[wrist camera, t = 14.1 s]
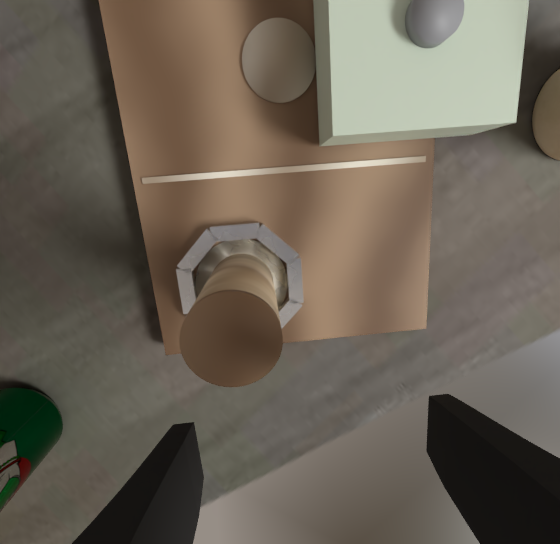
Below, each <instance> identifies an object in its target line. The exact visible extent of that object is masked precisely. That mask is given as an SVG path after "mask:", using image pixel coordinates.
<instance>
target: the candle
mask: <svg viewBox="0 0 560 544" xmlns="http://www.w3.org/2000/svg"><path fill="white" fill-rule="evenodd" d="M532 126H533V133H534V137H535V139H536V142H537V144H538V145H539V147H540V148H541V150H542V151H543V152H544V153H545V154H547V155H548V156H550V157H551V158H554V159H556V160H560V69H558V70H557V71H556V72H555V73H554V74H553V75H552V76H551V77H550V78H549V79H548V80H547V82H546V83H545V84H544V86H543V87H542V89H541V91H540V93H539V95H538V97H537V100H536V102H535V106H534V110H533V116H532Z"/></svg>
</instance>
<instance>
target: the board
mask: <svg viewBox="0 0 560 544" xmlns="http://www.w3.org/2000/svg"><path fill="white" fill-rule="evenodd" d="M99 5H100V11H101V16H102V21H103V26H104V32H105V37H106V42H107V47H108V53H109V58H110V63H111V68H112V74H113V79H114V84H115V90H116V95H117V100H118V105H119V111H120V116H121V121H122V126H123V132H124V137H125V142H126V147H127V153H128V158H129V163H130V168H131V174H132V179H133V184H134V190H135V195H136V200H137V205H138V211H139V216H140V221H141V226H142V232H143V237H144V242H145V247H146V253H147V258H148V263H149V268H150V274H151V279H152V284H153V290H154V295H155V300H156V305H157V311H158V316H159V321H160V326H161V332H162V337H163V342H164V347H165V353H166V355H170V354H180V353H181V350H180V344H179V335H180V330H181V326H182V324H183V321H184V319H185V318H186V315H187V314H183V309H182V303H181V297H180V291H179V285H178V279H177V273H176V269H177V268H178V267H177V265H178V264H179V263H180V261H181V260H182V259H183V258H184V256H185V255H186V254H187V253H188V251H189V250H190V249H191V248H192V246H193V245H194V244H195V243H196V241H197V240H198V239H199V238H200V236H201V235H202V234H203V233H204V231H205V230H206V229H207V228H209V229H210V227H211V226H217V225H229V224H241V223H253V222H259V226H261V224H262V223H263V224H264V225H265V226H267V227H268V228H269V229H270V230H271V231H273V232H274V233H275V234H276V235H277V236H279V237H280V238H281V239H282V240H283V241H284V242H286V243H287V244H288V245H289V246H290V247H292V248H293V249H294V250H295V251H296V252H297V253H298V254H299V256H300V258H301V268H302V284H303V300H304V303H302V307H301V308H300V309H299V310H298V311H297V313H296V314H295V315H294V316H293V317H292V318H291V319H290V320H289V321H288V322H287V324H286V325H285V326H284V327H283V328H282V335H283V343H289V342H298V341H308V340H318V339H328V338H338V337H348V336H358V335H367V334H377V333H387V332H397V331H407V330H417V329H426V322H427V300H428V277H429V255H430V233H431V211H432V188H433V166H434V144H435V138H425V139H412V140H398V141H385V142H371V143H358V144H345V145H331V146H319V123H318V100H317V76H316V53H315V29H314V6H313V0H99ZM251 240H255V241H258V242H260V241H259V240H258V239H257V238H255V239H251ZM222 242H224V241H220V242H216V243H215V244H214V245H213V246H212V248H213V247H215V246H216V245H218V244H220V243H222ZM212 248H211V249H212ZM211 249H210V250H211ZM210 250H209V251H210ZM209 251H208V252H209ZM208 252H207V253H208ZM203 258H204V257H203ZM279 258H280V257H279ZM280 260H281V261H282V263H283V265H284V267H285V270H286V262H284V261H283V260H282V259H281V258H280ZM201 261H202V260H201ZM201 261H200V262H201ZM200 262H199V264H200ZM199 264H198V265H197V266H196V267H195V268H194V274H195V281H196V273H197V270H198V267H199ZM286 274H287V270H286ZM287 298H288V284H287V292H286V296H285V298H284V301H285V300H286V299H287ZM284 301H283V303H284ZM283 303H282V304H283Z"/></svg>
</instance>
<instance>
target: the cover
mask: <svg viewBox="0 0 560 544" xmlns="http://www.w3.org/2000/svg"><path fill="white" fill-rule="evenodd" d="M528 5H529V0H313V6H314V29H315V53H316V76H317V100H318V123H319V146H331V145H345V144H358V143H371V142H385V141H398V140H412V139H425V138H438V137H452V136H465V135H473V134H476V133H480V132H484V131H487V130H491V129H494V128H498V127H502V126H505V125H509V124H513V123H516V119H517V110H518V100H519V91H520V81H521V72H522V62H523V53H524V43H525V34H526V24H527V15H528Z"/></svg>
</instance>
